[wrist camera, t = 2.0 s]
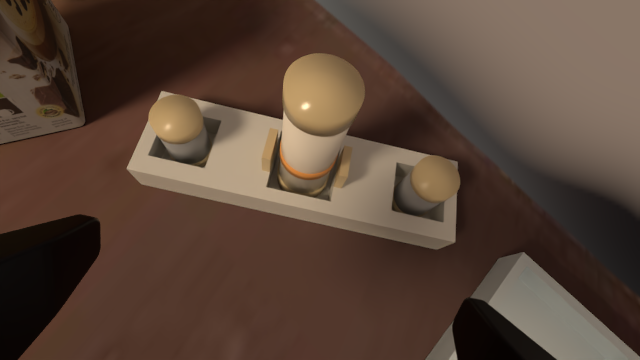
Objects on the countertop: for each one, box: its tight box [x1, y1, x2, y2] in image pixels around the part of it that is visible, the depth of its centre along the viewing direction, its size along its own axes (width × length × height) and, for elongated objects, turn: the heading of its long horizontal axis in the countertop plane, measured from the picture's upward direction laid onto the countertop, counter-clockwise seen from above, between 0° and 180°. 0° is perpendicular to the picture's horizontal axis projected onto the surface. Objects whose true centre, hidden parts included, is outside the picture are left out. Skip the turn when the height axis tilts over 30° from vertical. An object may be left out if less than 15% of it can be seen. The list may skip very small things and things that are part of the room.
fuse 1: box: [149, 95, 212, 168], centre depth 21 cm, size 3×3×4 cm
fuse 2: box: [392, 155, 460, 217], centre depth 22 cm, size 3×3×4 cm
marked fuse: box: [277, 53, 365, 198], centre depth 19 cm, size 3×3×10 cm
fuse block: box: [127, 91, 458, 250], centre depth 22 cm, size 6×20×4 cm, turn 79°
